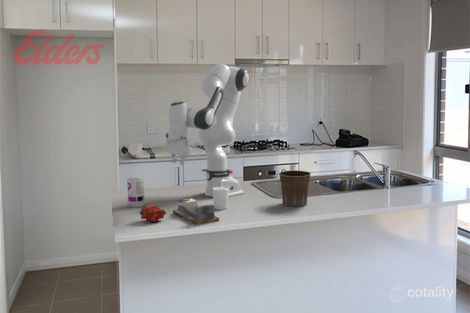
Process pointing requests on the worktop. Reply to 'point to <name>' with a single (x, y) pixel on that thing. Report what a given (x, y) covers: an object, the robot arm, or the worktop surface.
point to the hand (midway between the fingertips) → (178, 163)
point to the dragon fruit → (152, 213)
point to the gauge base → (197, 214)
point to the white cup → (220, 197)
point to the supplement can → (136, 191)
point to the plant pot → (294, 187)
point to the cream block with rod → (189, 204)
